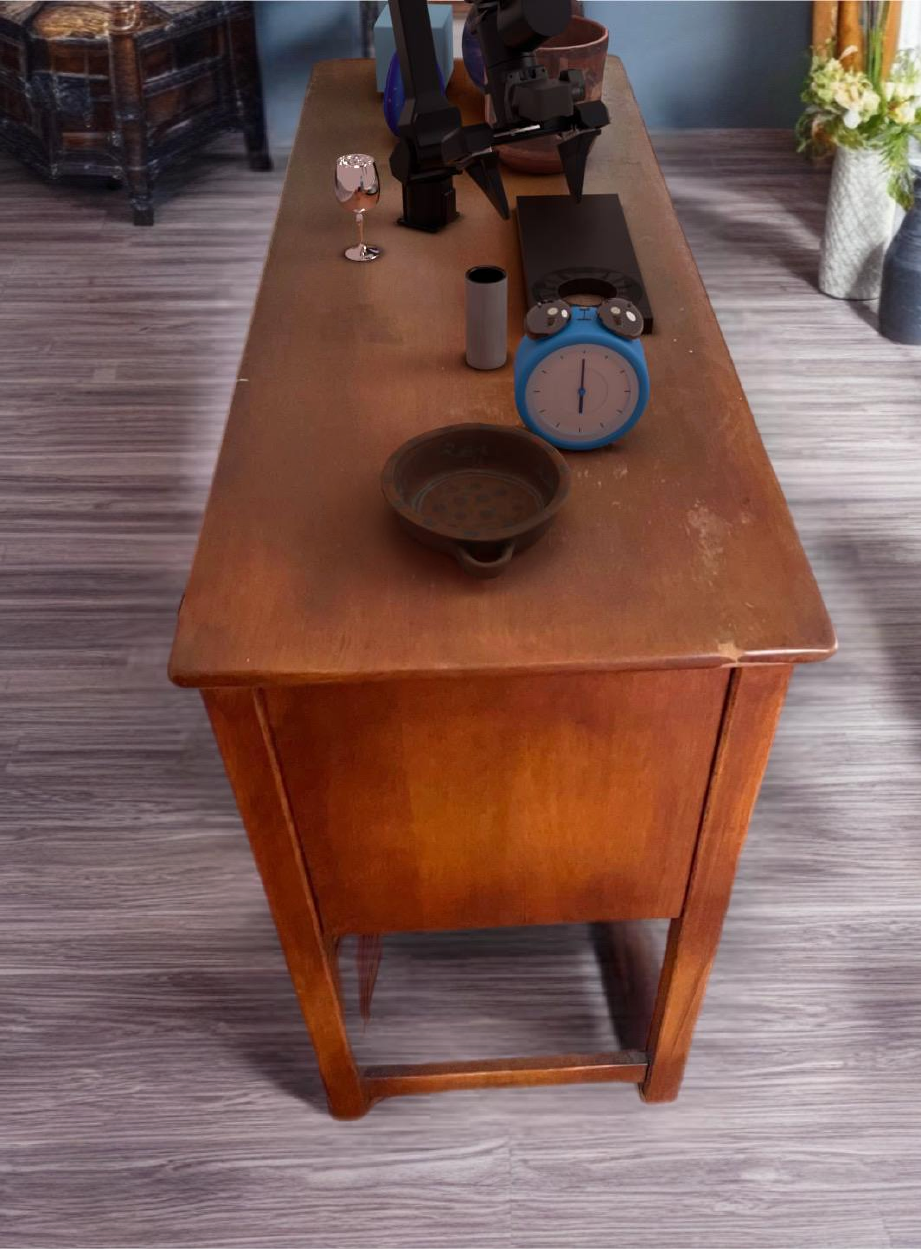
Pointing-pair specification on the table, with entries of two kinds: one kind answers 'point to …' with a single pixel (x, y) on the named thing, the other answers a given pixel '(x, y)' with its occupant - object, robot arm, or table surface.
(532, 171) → the pottery
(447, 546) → the dish
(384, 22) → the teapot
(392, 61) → the ornament
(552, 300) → the alarm clock
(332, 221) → the table surface
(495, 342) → the planter
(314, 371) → the table surface
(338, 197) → the wineglass
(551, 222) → the plant stand
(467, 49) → the decorative sphere
